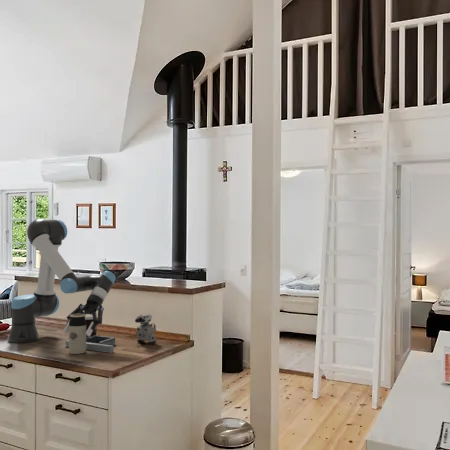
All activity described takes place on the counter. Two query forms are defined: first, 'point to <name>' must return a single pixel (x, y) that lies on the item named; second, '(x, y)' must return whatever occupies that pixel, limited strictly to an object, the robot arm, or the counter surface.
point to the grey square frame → (101, 340)
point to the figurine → (145, 329)
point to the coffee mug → (88, 322)
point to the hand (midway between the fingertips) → (76, 333)
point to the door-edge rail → (96, 347)
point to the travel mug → (77, 334)
